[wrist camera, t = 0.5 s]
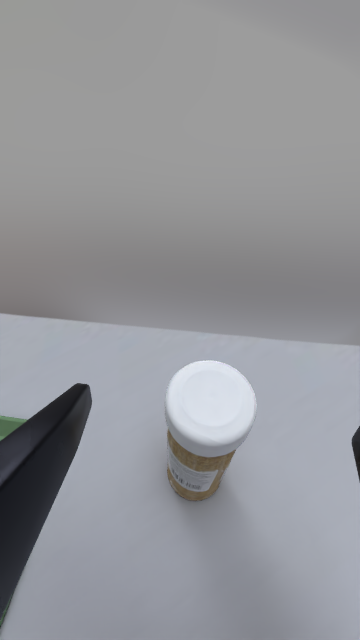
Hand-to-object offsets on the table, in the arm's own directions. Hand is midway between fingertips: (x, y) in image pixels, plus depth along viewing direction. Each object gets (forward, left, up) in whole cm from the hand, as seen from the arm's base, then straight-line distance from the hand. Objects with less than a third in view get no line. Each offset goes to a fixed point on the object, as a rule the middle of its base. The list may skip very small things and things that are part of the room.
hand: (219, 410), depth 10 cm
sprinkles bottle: (+2, 0, -17) cm, 18 cm away
